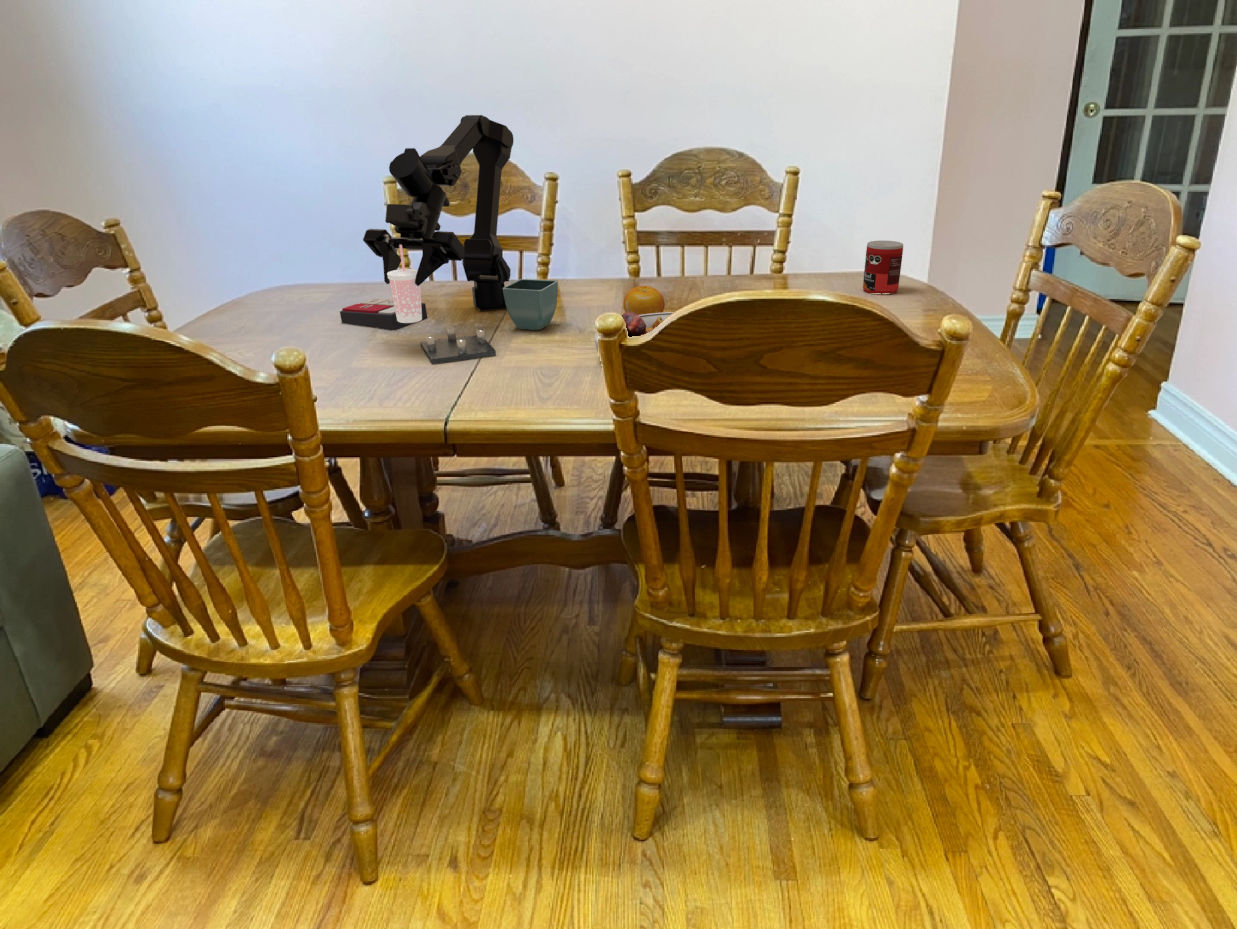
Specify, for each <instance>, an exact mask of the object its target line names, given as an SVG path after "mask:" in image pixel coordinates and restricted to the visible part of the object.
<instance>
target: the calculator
mask: <svg viewBox="0 0 1237 929" xmlns="http://www.w3.org/2000/svg"><path fill="white" fill-rule="evenodd" d="M421 309H422V320H420V321H418V322H421V321H424V320H426V319H428V314H427V313H428V312H427V306H426V303H424V302H423V301H421ZM339 316H340V321H341V324H345V325H350V326H351V325H352V326H358V327H365V328H366V327H367V328H368V327H369V328H378V329H379V330H386V331H392V330H395V331H397V330H400V329H403V328H405V327H409V326H411V325H414V324H416V323H418V322H414V323H400V322H398V321H397V317H396V312H395V306H394V301H393V298H392V299H389V298H378V297H374V298H371V299H367V300H364V301H361V302H359V303H355V304H353V305H349V306H345V307H342V309H341V310H340V311H339Z"/></svg>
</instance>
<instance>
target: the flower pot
mask: <svg viewBox="0 0 1237 929" xmlns="http://www.w3.org/2000/svg"><path fill="white" fill-rule="evenodd" d="M558 285H559V281H558V280H551V279H530V278H529V279H528V278H520V279H518V280H516V281H514V282H512V283H510V284H508V285H506V286H505V287H504V288H503V294H504V299H505V303H506V307H507V308H506V311H507V313H508V316H509V317H510V319H511V322H512V323H513V324H514V325H515V326H516V328H517V329H519V330H533V331H534V330H535V331H540V330H542V329H543V328H545V327H547V326H549V325H550V324H551V321H552V319H553V317H554V315H555V312H556V309H557V303H558V289H559V288H558Z"/></svg>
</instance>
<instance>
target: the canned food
mask: <svg viewBox="0 0 1237 929" xmlns="http://www.w3.org/2000/svg"><path fill="white" fill-rule="evenodd" d="M903 253H904V243H902V242H900V241H894V240H873V241H872V240H871V241H868V242H867V245H866V251H865V259H864V260H865V262H864V271H863V280H862V290H863V292H864V291H865V292H864V293H866V292H867V293H866V294H869V293H881V294H882V293H895V294H896V293H898V291H899V286H900V277H901V270H902V261H903Z"/></svg>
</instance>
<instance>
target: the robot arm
mask: <svg viewBox="0 0 1237 929" xmlns="http://www.w3.org/2000/svg"><path fill="white" fill-rule="evenodd" d="M459 122H460V123H459V124H458V125H457V126H456V127H455V129H454V130H452V132H451V133H450V134H449V135H448V137H447V138H446V139H445V140H444V142H443V143H442V144H441V145H440V146H438V147H435V148H432V149H428V150H427V151H425V152H424V153H423V154H421V155H419V152H418V150H417V149H416V148H415V147H414V148H413V147H405V149H404V151H403V152H402V153H400V154H398V155H397V156H396V157H395V158H393V160H391V161H390V163H389V165H388V166H389V167H388V170H389V174H390V175H391V176H392V178H393V179H394V180H395V181H396V183H397V184H398V185H399V187H400V189H401V190H402V191H403V192H404V193H405V195H407V196H408V197H411V201H410V204H403V203H401V204H400V203H396V204H395V203H387V204H386V212H385V223H387V224H390V225H392V226H394V231H395V232H396V233H397V234H399V235H400V236H392V235H391V234H390V233H389V232H388V230H387V229H382V228H381V229H379V228H375V229H374V228H369V229H367V230H365V232H364V235H363V238H362V241H363V242H364V243H365V245H366V246H368V248H369V249H370V250H371V251H372V252H373V253H374V255H375V256H377V257H380V258H382V262H383V264H382V266H383V279H384V283H386V284H387V285H390V280H389V279H388V276H387V273H388V272H390V271H393V270H399V266H400V264H402V263H401V256H399V254H398V251H399V249H400V246H399V245H402V249H404V250H405V249H406V250H413V251H415V250H416V251H417V250H418V251H419V250H420V251H422V255H421V259H420V262H419V265H418V268H417V270H418V271H417V274H416V278H415V284H416V285H417V286H419V285H420V286H421V285H422V283H424V282H425V281H426V280H427V279H428V278H429V277H430V276H431V275H432V274H433V273H435V272H436V271H437V270H438V269H439V268H441V267H442V266H443V265H445V264H449V262H450V261H456V262H458V261H459V262H460V261H462V262H461V264H462V267H463V270H464V274H465V277H466V281H467V282H473V286H472V287H471V292H472V302H473V306H474V307H475V308H476V309H477V310H478V311H479V312H489V311H496V310H504V309H505V310H507V307H506V303H505V299H504V294H503V288H504V287H506V286H505V282H509V281H510V279H511V268H510V266H509V265H508V263H507V261H506V260H505V259H504V257H503V255H504V254H503V252H504V250H503V247H502V245H501V244H500V241H499V239H498V237H497V236H498V235H497V232H498V222H499V220H498V219H499V209H500V208H499V207H500V206H499V205H500V197H501V195H500V194H501V193H500V192H501V184H502V183H501V180H502V172H503V169H504V167H505V166H506V165H507V163H508V161H509V160H510V159H511V156H512V155H511V153H512V148H513V146H514V134H513V132H512V131H511V129H509V127H508V126H507V125H505V124H503V123H499V122H496V121H493V120H491V119H489V118H488V117H487V116H484V115H483V114H465V115H463V116H462V117H461V118H460V121H459ZM471 151H472V153H473V155H474V157H475V160H476V162H477V163H478V175H477V176H478V177H477V189H476V190H477V191H476V205H475V216H474V229H473V234H471V236H470V238H465V240H464V242H463V244H462V242H461V241H460V239H459V238H458V237H457V234H456V233H455V232H454V231H443V230H442V231H440V230H441V227H442V226H441V224H440V223H439V219H440V216H441V213H442V210H443V208H444V207H447V208H448V207H450V205H451V204H450V200H449V198H448V197H447V192H446V191H444V189H443V188H442V187H453V186H455V185H456V183H458V180H459V179H460V177H461V175H462V172H463V171H462V168H461V164H462V163H463V161H464V160H465V158H466V157H467V156H468V155H469V154H470V153H471Z"/></svg>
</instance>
